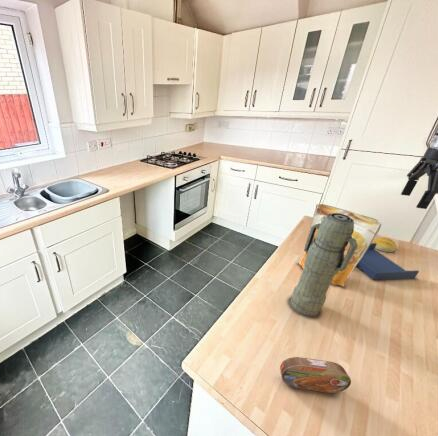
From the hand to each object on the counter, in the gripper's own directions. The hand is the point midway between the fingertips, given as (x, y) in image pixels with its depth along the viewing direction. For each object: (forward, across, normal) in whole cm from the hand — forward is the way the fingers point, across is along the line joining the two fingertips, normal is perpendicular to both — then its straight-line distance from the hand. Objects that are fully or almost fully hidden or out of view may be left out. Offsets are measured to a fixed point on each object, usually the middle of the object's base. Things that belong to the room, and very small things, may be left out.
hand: (412, 201), depth 98 cm
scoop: (+24, +16, -12) cm, 32 cm away
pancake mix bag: (+25, +30, -29) cm, 49 cm away
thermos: (+25, +51, -37) cm, 68 cm away
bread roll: (+25, -2, 0) cm, 25 cm away
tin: (+25, +78, -39) cm, 91 cm away
